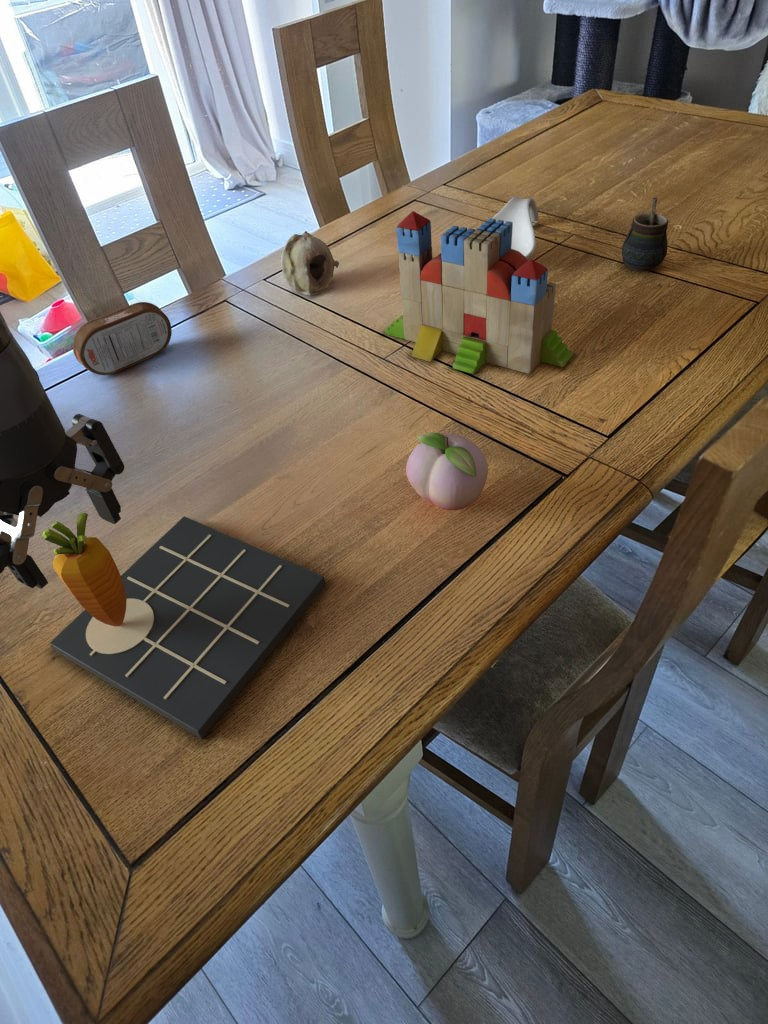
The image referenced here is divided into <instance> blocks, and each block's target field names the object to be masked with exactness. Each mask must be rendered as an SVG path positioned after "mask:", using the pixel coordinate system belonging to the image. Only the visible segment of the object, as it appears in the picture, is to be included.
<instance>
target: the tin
mask: <svg viewBox="0 0 768 1024" xmlns="http://www.w3.org/2000/svg"><path fill="white" fill-rule="evenodd" d="M171 339H172V324H171V320H170V318H169V317H168V316H167V315H166V313H164V312H163V310H162V309H161V308H160V307H159V306H157V305H156V304H154V303H151V302H147V301H139V302H135V303H132V304H130V305H127V306H125V307H122V308H120V309H117V310H114V311H112V312H109V313H107V314H103V315H101V316H99V317H96V318H93V319H91V320H88V321H86V322H85V323H84V324H83V325H81V326H80V327H79V328H78V329H77V331H76V332H75V335H74V337H73V340H72V352H73V355H74V357H75V359H76V361H78V363H79V364H80V365H81V366H83V367H84V368H85V369H86V370H87V371H88V372H91V373H93V374H94V375H99V376H110V375H114V374H116V373H118V372H121V371H123V370H125V369H129V368H130V367H133V366H135V365H137V364H139V363H141V362H144V361H147V360H148V359H151V358H153V357H155V356H157V355H159V354H161V353H162V352H163V351H164V350H165V349H166V348H167V347H168V345H169V343H170V341H171Z"/></svg>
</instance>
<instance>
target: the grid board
mask: <svg viewBox="0 0 768 1024" xmlns="http://www.w3.org/2000/svg"><path fill="white" fill-rule="evenodd" d="M120 575H121V578H122V581H123V585H124V589H125V594H126V599H127V602H126V613H125V617H124V621H123V624H121V625H120V626H111V625H107V624H104V623H102V622H101V621H99V620H97V619H95V618H94V617H93V616H92V615H91V614H90V613H89V612H87V611H86V610H85V609H83V611H82V612H81V613H79V615H78V616H77V617H75V618H74V619H73V620H72V621H71V622H70V623H69V624H68V625H67V626H66V627H65V628H64V629H63V630H62V631H60V632H59V633H58V634H57V635H56V636H55V637H54V638H53V639H52V640H51V641H50V642H49V645H50V647H51V648H52V649H53V651H54V652H55V653H57V654H59V655H60V656H61V657H64V658H65V659H67V660H69V661H70V662H71V663H74V664H75V665H77V666H79V667H80V668H82V669H84V670H85V671H87V672H89V673H90V674H92V675H94V676H95V677H96V678H98V679H100V680H102V681H103V682H105V683H107V684H109V685H111V686H112V687H114V688H116V689H117V690H118V691H120V692H122V693H123V694H126V695H127V696H128V697H130V698H132V699H134V700H135V701H137V702H139V703H141V704H142V705H144V706H145V707H147V708H149V709H150V710H152V711H154V712H156V713H157V714H159V715H160V716H162V717H164V718H165V719H167V720H168V721H171V722H172V723H174V724H175V725H177V726H179V727H181V728H182V729H183V730H186V731H187V732H189V733H190V734H193V735H194V736H196V737H197V738H199V739H201V740H203V739H205V737H206V736H207V735H208V733H209V732H210V731H211V730H212V728H213V727H214V725H216V723H217V722H218V721H219V719H221V717H222V716H223V715H224V713H225V712H226V711H227V710H228V708H230V706H231V705H232V703H233V702H234V701H235V699H237V697H238V696H239V695H240V693H241V692H242V691H243V690H244V688H245V687H246V686H247V684H248V683H250V681H251V680H252V678H253V677H254V676H255V674H256V673H257V672H258V671H259V670H260V668H261V667H262V666H263V664H264V663H266V661H267V660H268V658H269V657H270V656H271V655H272V653H274V651H275V650H276V648H277V647H278V646H279V644H280V643H281V642H282V641H283V640H284V638H285V637H286V636H287V635H288V633H290V631H291V629H292V628H293V627H294V626H295V625H296V623H297V622H298V621H299V620H300V618H301V617H302V616H303V615H304V614H305V612H306V611H307V610H308V608H309V607H310V606H311V605H312V604H313V602H315V600H316V598H317V597H318V596H319V595H320V594H321V592H322V591H323V590H324V588H326V586H327V583H326V579H325V576H324V575H322V574H320V573H317V572H315V571H313V570H311V569H308V568H306V567H303V566H301V565H299V564H297V563H294V562H292V561H289V560H288V559H285V558H282V557H280V556H278V555H276V554H273V553H271V552H269V551H266V550H265V549H262V548H260V547H257V546H254V545H253V544H250V543H247V542H245V541H244V540H240V539H238V538H236V537H233V536H231V535H229V534H226V533H225V532H222V531H219V530H218V529H215V528H212V527H211V526H208V525H205V524H203V523H201V522H199V521H196V520H194V519H192V518H189V517H188V516H185V515H184V516H182V517H181V518H180V519H179V520H178V521H177V522H176V523H175V524H174V525H173V526H172V527H171V528H170V529H169V530H168V531H166V533H165V534H164V535H162V536H161V537H160V538H159V539H158V540H157V541H156V542H155V543H154V544H153V545H151V546H150V548H148V549H147V550H146V551H145V552H144V553H143V554H142V555H141V556H140V557H138V559H137V560H136V561H135V562H134V563H132V565H131V566H129V567H128V568H127V569H126V570H125V571H124V572H123V573H122V574H120Z"/></svg>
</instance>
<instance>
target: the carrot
mask: <svg viewBox="0 0 768 1024" xmlns="http://www.w3.org/2000/svg"><path fill="white" fill-rule="evenodd" d="M88 516H89V513H86V512H80V513H79V515H78V516H77V521H76V534H74V532H73V531H72V530H71V529H70V527H67V526H66V525H64V524H63V523H61V522H59V521H54V522H53V523H52V524H51V526H50V527H51V528H52V529H54V530H52V529H51V528H46V529H44V531H43V532H42V538H43V540H45V541H47V542H49V543H52V544H54V545H57V546H59V547H57V548H54V550H53V554H54V555H55V557H54V559H53V561H52V567H53V570H54V571H55V573H56V574H57V576H58V577H59V578H60V580H61V581H62V583H63V584H64V586H65V587H66V588H67V590H68V591H69V592H70V594H71V595H72V596H73V597H74V599H75V600H76V601H77V602H78V604H79V605H80V606H81V607H82V608H83V610H86V611H87V612H89V613H90V614H91V615H92V616H93V617H94V618H95V619H97V620H99V621H101V622H102V623H104V624H107V625H111V626H120V625H121V624H123V621H124V617H125V613H126V602H127V599H126V594H125V589H124V585H123V581H122V578H121V575H122V574H121V573H120V571H119V568H118V566H117V563H116V562H115V560H114V558H113V555H112V554H111V552H110V550H109V549H108V548H107V547H106V545H104V543H102V541H101V540H100V539H99V538H97V537H96V536H89V537H88V536H87V535H86V527H87V521H88ZM60 533H61V534H60Z"/></svg>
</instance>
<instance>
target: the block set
mask: <svg viewBox="0 0 768 1024" xmlns="http://www.w3.org/2000/svg"><path fill="white" fill-rule="evenodd" d="M431 223H432V222H431V220H430V219H429V218H427V217H425V216H423V215H422V214H420V213H417V212H416V211H414V210H413V211H411V212H410V213H409V214H408V215H407V216H405V217H404V219H403V220H401V221H400V222H399V223H398V224H397V225H396V241H397V252H398V266H399V284H400V294H401V295H400V296H401V310H402V311H401V313H402V315H400V316H399V317H398V318H397V319H396V320H394V321H393V322H392V323H391V324H390V325H389V326H387V328H385V331H384V332H385V335H387V336H391V337H395V338H399V339H402V340H403V339H404V340H405V341H409V342H412V343H415V344H414V346H413V349H412V352H411V355H410V356H411V357H413V358H416V359H419V360H423V361H425V362H432V361H433V360H434V359H435V358H436V357H437V356H438V355H439V354H440V353H442V352H443V351H444V352H447V353H449V354H454V355H455V361H454V362H452V368H453V369H454V370H458V371H460V372H463V373H468V374H473V375H475V373H476V372H477V371H478V370H479V369H481V367H482V366H483V365H484V364H485V363H488V364H490V365H495V366H498V367H502V368H504V369H505V368H507V369H510V370H513V371H518V372H521V373H525V374H531V373H532V372H533V371H534V370H535V368H536V367H537V366H538V365H539V364H540V363H541V362H542V363H546V364H550V365H553V366H557V367H561V368H564V367H565V366H566V365H567V363H568V362H569V360H570V359H571V358H572V357H573V355H574V351H573V350H572V349H569V348H568V347H569V344H568V343H566V342H563V337H562V336H559V335H558V330H557V329H552V328H553V320H554V319H553V318H554V310H555V309H554V308H555V299H556V288H557V284H556V282H551V281H549V282H548V279H549V268H548V267H546V266H545V265H543V264H542V263H541V262H538V261H537V260H535V259H533V258H529V260H527V258H526V257H525V256H524V255H523V254H521V253H520V252H519V251H517V250H514V249H512V248H511V245H512V228H513V222H510V221H506V222H505V223H504V221H503V220H498V221H497V222H496V219H493V217H491V218H488V219H487V220H486V221H485V222H483V223H482V224H481V225H480V226H479V227H478V228H476V229H475V228H471V227H469V228H468V227H465V226H461V227H460V226H459V225H452V226H450V228H448V229H446V230H445V232H443V233H442V234H441V235H440V253H438V254H437V255H436V256H433V247H432V246H433V245H432V243H433V242H432V225H431Z"/></svg>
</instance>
